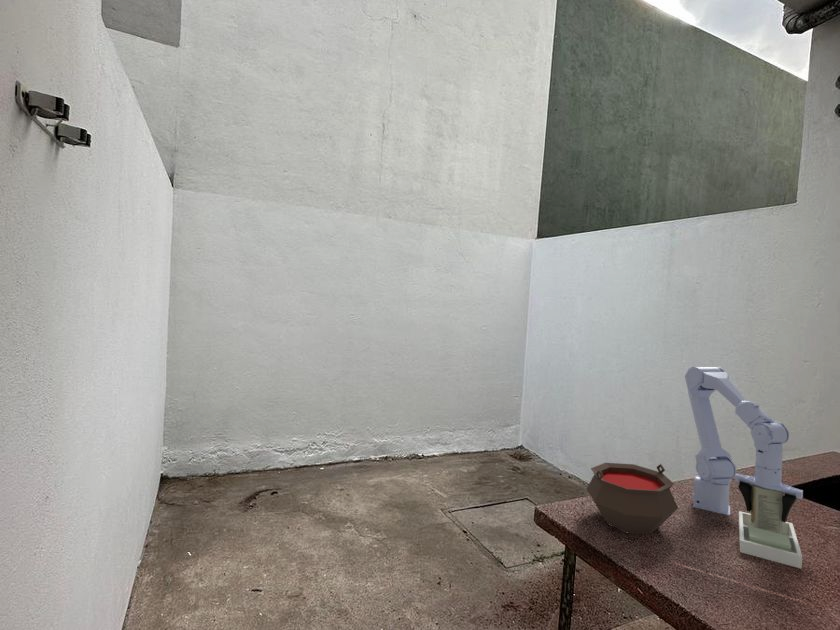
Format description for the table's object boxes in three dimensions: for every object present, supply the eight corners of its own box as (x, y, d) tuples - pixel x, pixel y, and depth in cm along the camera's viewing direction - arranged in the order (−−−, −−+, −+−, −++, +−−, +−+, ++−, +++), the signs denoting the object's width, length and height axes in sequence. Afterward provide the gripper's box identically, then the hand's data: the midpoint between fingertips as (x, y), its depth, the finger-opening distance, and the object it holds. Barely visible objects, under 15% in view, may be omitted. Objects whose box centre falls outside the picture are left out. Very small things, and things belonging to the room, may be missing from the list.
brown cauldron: (623, 550, 114) (625, 486, 114) (568, 508, 137) (570, 455, 137) (698, 538, 121) (700, 478, 120) (633, 500, 144) (635, 450, 143)
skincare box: (777, 530, 123) (779, 486, 123) (782, 537, 119) (785, 492, 119) (748, 524, 125) (751, 481, 125) (753, 531, 121) (755, 487, 121)
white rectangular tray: (739, 553, 113) (740, 540, 113) (738, 522, 130) (738, 511, 130) (801, 570, 106) (802, 556, 106) (791, 535, 123) (792, 523, 123)
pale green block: (748, 550, 114) (749, 535, 114) (748, 540, 119) (748, 526, 119) (790, 561, 109) (791, 546, 109) (787, 550, 114) (788, 535, 114)
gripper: (806, 471, 119) (804, 521, 119) (741, 456, 130) (739, 502, 130) (800, 477, 114) (798, 529, 114) (733, 461, 125) (731, 509, 125)
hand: (766, 515), depth 122 cm, fingers closed on skincare box, 7 cm apart
